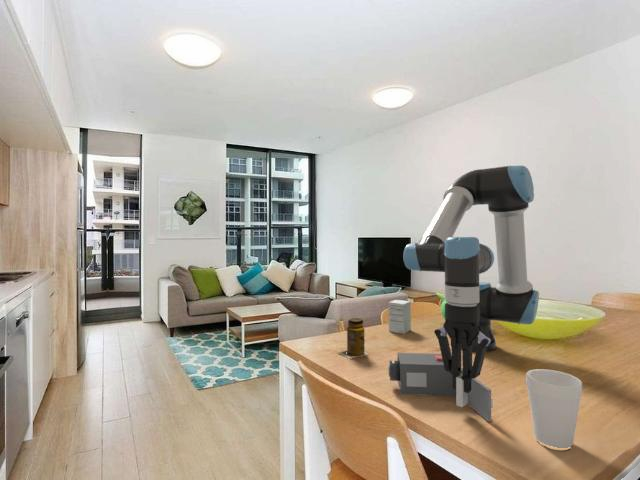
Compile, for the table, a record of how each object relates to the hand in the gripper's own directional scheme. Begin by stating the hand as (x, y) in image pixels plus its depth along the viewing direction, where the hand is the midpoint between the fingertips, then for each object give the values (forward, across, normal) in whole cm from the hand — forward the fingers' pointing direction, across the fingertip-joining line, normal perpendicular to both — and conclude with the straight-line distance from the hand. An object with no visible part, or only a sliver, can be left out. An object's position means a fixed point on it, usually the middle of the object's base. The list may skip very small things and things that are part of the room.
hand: (462, 404), depth 86 cm
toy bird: (+3, -38, +77) cm, 86 cm away
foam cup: (+2, +18, +2) cm, 18 cm away
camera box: (+2, -14, +6) cm, 16 cm away
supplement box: (+3, -52, +52) cm, 73 cm away
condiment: (+3, -46, +15) cm, 48 cm away
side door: (+2, +1, +5) cm, 5 cm away
